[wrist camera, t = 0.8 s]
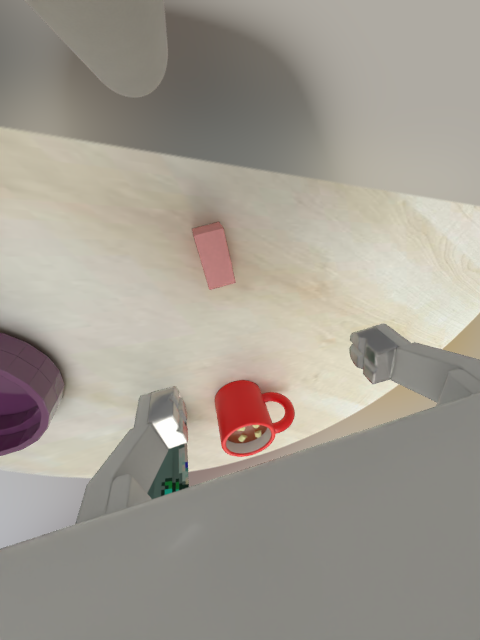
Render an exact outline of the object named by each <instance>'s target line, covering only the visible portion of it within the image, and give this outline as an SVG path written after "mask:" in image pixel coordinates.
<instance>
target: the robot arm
mask: <svg viewBox="0 0 480 640" xmlns="http://www.w3.org/2000/svg"><path fill="white" fill-rule="evenodd" d="M350 341H351V342H352V343H353V344H352V345H351V347H350V357H351V359H352V361H353V363H354V364H355V365H356V366H357V367H358V368H361V369H363V374H364V375H365V376H366V378H367V379H368V380H369V381H370V382H371V383H372V384H376V383H379V382H383V381H386V380H390V379H391V380H392V381H394V382H396V383H398V384H400V385H402V386H404V387H406V388H408V389H410V390H412V391H414V392H417V393H419V394H421V395H423V396H425V397H427V398H429V399H431V400H433V401H435V402H437V405H436V407H433V408H430V409H427V410H424V411H420V412H417V413H414V414H411V415H408V416H405V417H402V418H399V419H396V420H393V421H390V422H387V423H384V424H381V425H378V426H375V427H372V428H368V429H366V430H363V431H360V432H356V433H353V434H350V435H348V436H344V437H341V438H338V439H335V440H332V441H329V442H326V443H323V444H320V445H317V446H314V447H311V448H307V449H304V450H301V451H298V452H296V453H293V454H289V455H286V456H283V457H280V458H277V459H274V460H271V461H268V462H264V463H261V464H258V465H255V466H252V467H249V468H246V469H243V470H240V471H237V472H234V473H231V474H228V475H225V476H222V477H219V478H216V479H212V480H209V481H206V482H203V483H200V484H197V485H194V486H191V487H188V488H185V489H182V490H179V491H176V492H173V493H170V494H167V495H163V496H160V497H157V498H154V499H151V497H150V496H149V495H148V494H147V493H148V491H149V489H150V487H151V485H152V483H153V481H154V479H155V477H156V475H157V473H158V471H159V469H160V467H161V464H162V462H163V460H164V458H165V456H166V454H167V452H168V449H170V448H173V447H176V446H179V445H182V444H185V443H188V429H187V426H186V424H185V422H186V421H187V411H186V406H185V403H184V401H183V399H182V398H180V397H179V391H178V389H177V387H176V386H173V387H169V388H166V389H162V390H158V391H155V392H152V393H148V394H145V395H141V396H140V398H139V401H138V407H137V413H136V418H135V424H134V428H133V429H130V430H129V432H128V433H127V434H126V435H125V437H124V438H123V439H122V441H121V442H120V443H119V444H118V446H117V447H116V448H115V450H114V451H113V452H112V453H111V455H110V456H109V457H108V459H107V460H106V461H105V462H104V464H103V465H102V466H101V468H100V469H99V470H98V471H97V473H96V474H95V475H94V477H93V478H92V479H91V480H90V482H89V483H88V484H87V486H86V489H85V493H84V497H83V500H82V503H81V507H80V510H79V513H78V517H77V521H76V524H75V525H72V526H69V527H66V528H63V529H59V530H56V531H53V532H50V533H47V534H44V535H41V536H38V537H35V538H32V539H29V540H26V541H23V542H20V543H17V544H14V545H11V546H7V547H4V548H1V549H0V640H480V360H479V359H476V358H472V357H468V356H464V355H461V354H457V353H453V352H449V351H445V350H442V349H438V348H434V347H430V346H427V345H423V344H419V343H415V342H414V343H410V342H409V341H408V340H406V339H405V338H404V337H402V336H401V335H400V334H398V333H397V332H396V331H394V330H393V329H392V328H390V327H389V326H388V325H386V324H379V325H376V326H373V327H370V328H367V329H364V330H360V331H357V332H354V333H352V334H351V335H350Z"/></svg>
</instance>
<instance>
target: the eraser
mask: <svg viewBox="0 0 480 640" xmlns="http://www.w3.org/2000/svg"><path fill="white" fill-rule="evenodd" d="M192 231H193V236H194V239H195V243H196V246H197V249H198V253H199V256H200V259H201V263H202V266H203V270H204V273H205V276H206V280H207V283H208V287H209V290H211V289H215V288H218V287H222V286H226V285H229V284H233V283H236V282H235V277H234V273H233V268H232V264H231V259H230V255H229V250H228V246H227V241H226V237H225V233H224V228H223V227H222V225H221V224H220V222H216V223H212V224H209V225H205V226H201V227H197V228H193V229H192Z"/></svg>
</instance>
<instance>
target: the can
mask: <svg viewBox="0 0 480 640" xmlns="http://www.w3.org/2000/svg"><path fill="white" fill-rule="evenodd" d="M185 424H186V422H185ZM188 483H189V482H188V455H187V443H185V444H182V445H179V446H176V447H173V448H170V449H168V452H167V454H166V456H165V458H164V460H163V462H162V464H161V467H160V469H159V471H158V473H157V475H156V477H155V479H154V481H153V483H152V485H151V487H150V489H149V491H148V493H147V494H148V495H149V496H150V497H151V499H154V498H157V497H160V496H163V495H167V494H170V493H173V492H176V491H179V490H182V489H185V488H188V487H189V484H188Z"/></svg>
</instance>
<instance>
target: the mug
mask: <svg viewBox="0 0 480 640" xmlns="http://www.w3.org/2000/svg"><path fill="white" fill-rule="evenodd" d="M268 401H274V402H278V403H280V404H281V405H282V406H283V407H284V409H285V416H284V417H283V419H282V420H280V421H278V422H276V423H272V421H271V418H270V415H269V412H268V410H267V407H266V404H265V402H268ZM215 407H216V413H217V419H218V426H219V432H220V438H221V445H222V448H223V450H224V451H225V452H226V453H227V454H229V455H232V456H237V457H243V456H249V455H253V454H256V453H258V452H261V451H262V450H264V449H265V448H267V447H268V446H269V445H270V444H271V443H272V441H273V440H274V438H275V434H276V433H280V432H282V431H284V430H286V429H287V428H288V427H289V426H290V425H291V423H292V422H293V419H294V415H295V412H294V407H293V405H292V403H291V402H290V400H289V399H288V398H287V397H285V396H284V395H282V394H279V393H274V392H268V393H263V394H262V393H261V391H260V388H259V387H258V386H257V385H256V384H255V383H253V382H251V381H246V380H240V381H234V382H231V383H229V384H227V385H225V386H224V387H222V388H221V389H220V390H219V391H218V393H217V394H216V396H215Z"/></svg>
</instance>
